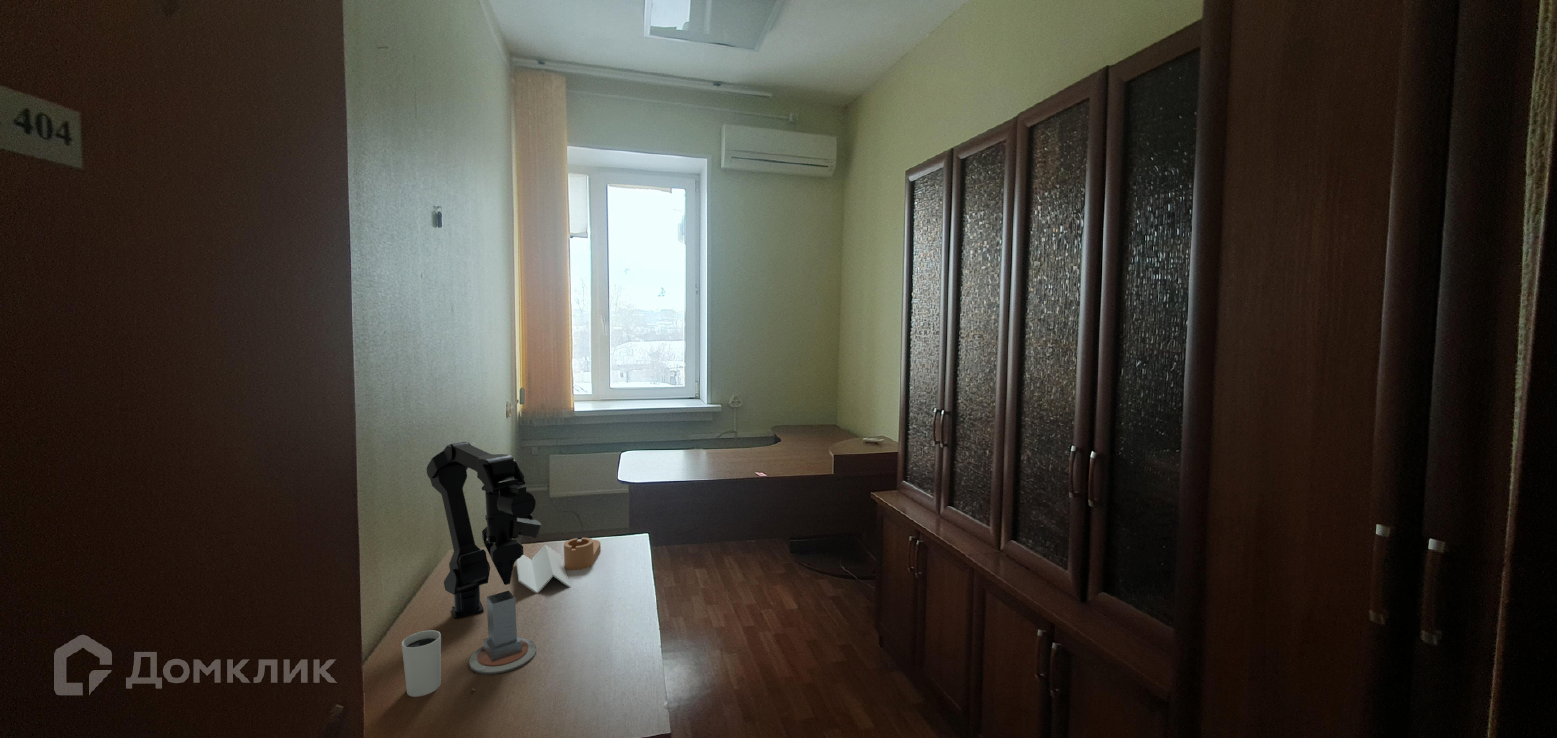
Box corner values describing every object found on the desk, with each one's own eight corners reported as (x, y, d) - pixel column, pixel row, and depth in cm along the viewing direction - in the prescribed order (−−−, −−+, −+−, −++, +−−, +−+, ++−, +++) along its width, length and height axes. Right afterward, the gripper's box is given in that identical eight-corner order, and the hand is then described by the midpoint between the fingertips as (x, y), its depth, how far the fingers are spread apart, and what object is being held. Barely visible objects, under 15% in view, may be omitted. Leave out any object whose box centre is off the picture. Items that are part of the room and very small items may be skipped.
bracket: (590, 570, 176) (589, 546, 176) (561, 571, 175) (560, 548, 175) (603, 547, 194) (602, 526, 193) (576, 548, 193) (575, 527, 193)
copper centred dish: (465, 652, 131) (465, 647, 131) (528, 635, 139) (528, 629, 138) (474, 681, 121) (473, 675, 120) (542, 661, 128) (541, 655, 128)
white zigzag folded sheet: (546, 572, 185) (560, 555, 187) (554, 606, 163) (571, 587, 164) (514, 549, 181) (530, 533, 182) (518, 581, 158) (536, 562, 160)
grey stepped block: (484, 650, 130) (481, 596, 129) (513, 640, 134) (511, 588, 133) (492, 662, 125) (489, 606, 124) (522, 651, 129) (520, 597, 128)
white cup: (415, 678, 122) (412, 630, 121) (449, 677, 122) (447, 629, 122) (397, 699, 115) (394, 648, 114) (433, 697, 116) (430, 647, 115)
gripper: (545, 514, 135) (549, 582, 135) (529, 496, 150) (532, 557, 151) (491, 523, 129) (495, 595, 129) (480, 504, 144) (483, 568, 145)
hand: (503, 577), depth 139 cm, fingers open, 9 cm apart
